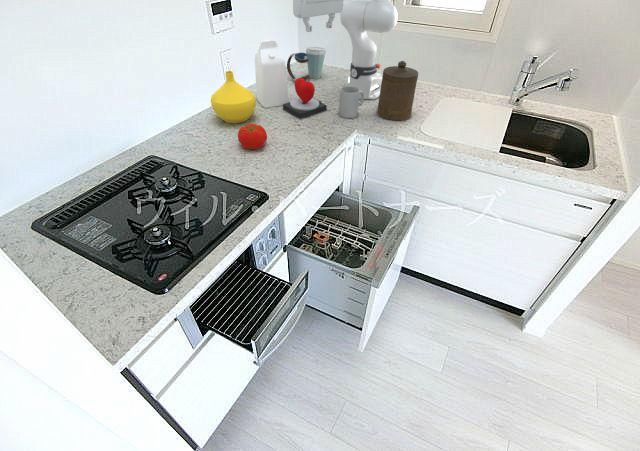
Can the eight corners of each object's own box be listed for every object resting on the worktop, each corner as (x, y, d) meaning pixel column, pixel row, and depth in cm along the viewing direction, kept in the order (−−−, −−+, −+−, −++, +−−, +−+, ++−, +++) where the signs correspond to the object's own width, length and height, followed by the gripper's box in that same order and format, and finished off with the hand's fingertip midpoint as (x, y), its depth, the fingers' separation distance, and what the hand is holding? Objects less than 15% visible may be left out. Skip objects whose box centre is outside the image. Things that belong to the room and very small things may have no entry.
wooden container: (401, 105, 159) (410, 55, 144) (416, 118, 148) (427, 65, 134) (372, 108, 155) (378, 57, 141) (385, 122, 145) (394, 68, 130)
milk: (280, 95, 166) (276, 36, 148) (288, 103, 158) (286, 42, 141) (256, 98, 162) (250, 38, 144) (264, 108, 154) (258, 45, 137)
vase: (215, 130, 137) (205, 81, 124) (213, 111, 150) (204, 66, 137) (260, 125, 141) (255, 78, 128) (254, 108, 154) (249, 63, 141)
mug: (345, 119, 146) (347, 94, 139) (334, 112, 152) (336, 87, 144) (367, 114, 151) (370, 89, 144) (356, 107, 156) (358, 83, 149)
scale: (308, 101, 161) (308, 94, 159) (326, 110, 153) (326, 103, 151) (283, 109, 153) (282, 102, 151) (300, 119, 146) (300, 111, 144)
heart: (317, 105, 149) (317, 82, 142) (307, 108, 147) (307, 85, 140) (301, 97, 156) (301, 75, 149) (292, 100, 153) (291, 77, 147)
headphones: (322, 85, 174) (293, 79, 186) (321, 53, 164) (290, 49, 177) (314, 88, 170) (285, 82, 183) (312, 56, 161) (281, 51, 173)
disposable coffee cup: (307, 73, 191) (306, 44, 181) (325, 74, 190) (326, 45, 180) (304, 79, 183) (304, 49, 173) (324, 80, 182) (325, 50, 172)
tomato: (250, 136, 133) (248, 118, 128) (273, 143, 129) (271, 125, 124) (232, 147, 126) (229, 129, 121) (255, 155, 122) (253, 136, 117)
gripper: (336, -21, 118) (334, 24, 127) (289, -17, 108) (291, 31, 117) (349, -19, 114) (346, 27, 123) (301, -15, 104) (302, 35, 113)
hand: (319, 29), depth 120 cm, fingers open, 8 cm apart
